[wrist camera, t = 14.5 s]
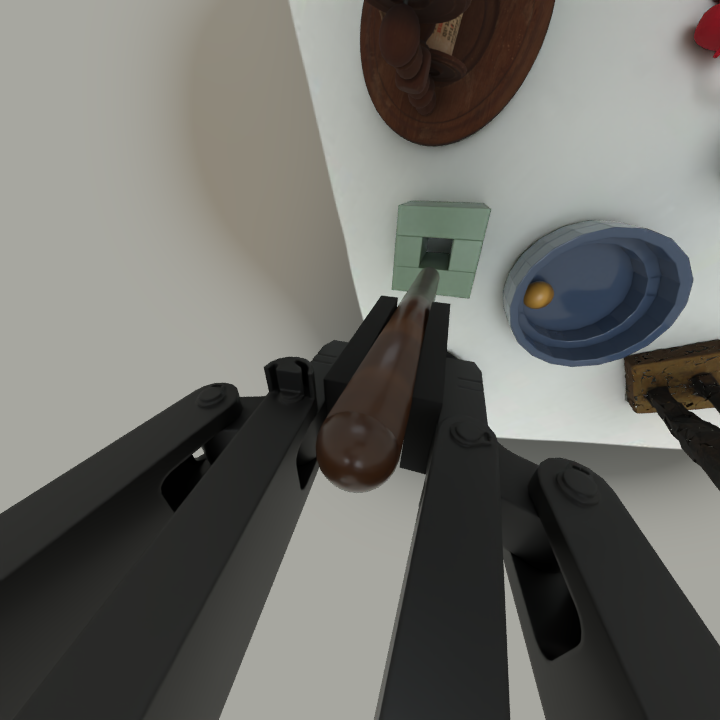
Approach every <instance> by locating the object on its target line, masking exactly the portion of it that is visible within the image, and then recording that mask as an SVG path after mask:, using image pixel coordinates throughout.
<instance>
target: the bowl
mask: <svg viewBox="0 0 720 720" xmlns="http://www.w3.org/2000/svg"><path fill="white" fill-rule="evenodd" d="M537 281H543V282H546V283H548V284H550V285H551V286H552V288H553V290H554V297H553V299H552V301H551V302H550V303H549V304H548V305H547V306H545V307H543V308H540V309H532V308H529V307H527V306H526V305H525V304H524V296H525V293H526V290H527V288H528V285H529V284H531V283H533V282H537ZM692 283H693V276H692V271H691V266H690V261H689V258H688V256H687V255H686V254H685V253H684V252H683V250H682V249H681V248H680V247H679V246H678V245H677V244H676V243H675V241H674V240H673V239H671V238H669V237H667V236H664V235H662V234H659V233H657V232H654V231H652V230H649V229H647V228H643V227H638V226H634V225H630V224H626V223H621V222H617V221H601V220H588V221H584V222H580V223H576V224H572V225H567V226H564V227H562V228H560V229H558V230H556V231H554V232H552V233H550V234H548V235H546V236H544V237H542V238H540V239H539V240H538V241H537V242H536V243H534V244H533V245H532V246H531V247H530V248H529V249H528V250H526V251H525V252H524V253H523V254H522V255H521V256H520V258H519V259H518V261H517V262H516V263H515V265H514V266H513V268H512V269H511V271H510V272H509V274H508V277H507V281H506V284H505V287H504V290H503V301H504V310H505V313H506V316H507V318H508V321H509V324H510V327H511V329H512V331H513V333H514V335H515V338H516V340H517V342H518V343H519V344H520V345H521V346H522V347H523V348H524V349H525V350H526V351H528V352H529V353H530V354H531V355H532V356H535V357H537V358H539V359H541V360H543V361H546V362H548V363H550V364H557V365H563V366H570V367H576V366H591V365H600V364H603V363H607V362H611V361H614V360H618V359H621V358H624V357H626V356H628V355H630V354H632V353H634V352H636V351H638V350H640V349H642V348H644V347H646V346H648V345H649V344H650V343H652V342H653V341H654V340H655V339H656V338H658V337H659V336H660V335H661V334H662V333H664V332H665V331H666V330H667V329H669V328H670V326H672V324H673V323H674V322H675V320H676V319H677V317H678V316H679V315H680V313H681V312H682V310H683V309H684V308H685V306H686V304H687V302H688V298H689V294H690V291H691V287H692Z"/></svg>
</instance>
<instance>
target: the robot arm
mask: <svg viewBox="0 0 720 720" xmlns="http://www.w3.org/2000/svg"><path fill="white" fill-rule="evenodd" d="M397 301H398V298H397V297H388V296H381V297H380V298H379V300H378V301H377V303H376V304H375V305H374V307H373V308H372V310H371V311H370V313H369V314H368V315H367V317H366V318H365V320H364V321H363V323H362V324H361V326H360V327H359V328H358V330H357V331H356V333H355V334H354V336H353V337H352V339H351V340H350V341H349V342H342V341H337V340H334V341H332V342H330V343H328V344H326V345H325V346H323V347H322V349H321V350H320V351H319V352H318V354H317V355H316V356H315V357H314V358H313V360H312V361H311V362H309V361H308V360H306V359H304V358H300V357H285V358H279V359H277V360H275V361H272V362H270V363H269V364H268V365H266V366H265V367H264V370H265V375H266V380H267V384H268V389H269V393H268V394H267V395H266V396H261V397H239V393H238V390H237V388H236V387H235V386H234V385H232V384H228V383H214V384H210V385H207V386H203V387H201V388H200V389H198V390H195V391H194V392H192V393H191V394H189V395H188V396H186V397H184V398H183V399H181V400H180V401H178V402H176V403H175V404H173V405H172V406H170V407H168V408H167V409H165V410H164V411H162V412H161V413H159V414H157V415H156V416H154V417H153V418H151V419H150V420H148V421H146V422H145V423H143V424H142V425H140V426H138V427H137V428H135V429H134V430H132V431H131V432H129V433H127V434H126V435H124V436H123V437H121V438H119V439H118V440H116V441H115V442H113V443H112V444H110V445H108V446H107V447H105V448H104V449H102V450H101V451H99V452H97V453H96V454H94V455H93V456H91V457H90V458H88V459H86V460H85V461H83V462H82V463H80V464H78V465H77V466H75V467H74V468H72V469H70V470H69V471H67V472H66V473H64V474H63V475H61V476H59V477H58V478H56V479H55V480H53V481H52V482H50V483H48V484H47V485H45V486H44V487H42V488H40V489H39V490H37V491H36V492H34V493H33V494H31V495H29V496H28V497H26V498H25V499H23V500H22V501H20V502H18V503H17V504H15V505H14V506H12V507H10V508H9V509H8V510H6V511H4V512H3V513H1V514H0V720H219V718H220V715H221V713H222V710H223V708H224V705H225V702H226V700H227V697H228V695H229V692H230V690H231V687H232V685H233V682H234V680H235V677H236V675H237V672H238V670H239V667H240V665H241V662H242V660H243V657H244V655H245V652H246V650H247V647H248V645H249V642H250V640H251V637H252V634H253V632H254V630H255V627H256V625H257V622H258V620H259V617H260V615H261V612H262V610H263V607H264V604H265V602H266V600H267V597H268V595H269V592H270V589H271V587H272V585H273V582H274V579H275V577H276V574H277V572H278V569H279V567H280V564H281V562H282V559H283V557H284V554H285V552H286V549H287V547H288V544H289V542H290V539H291V537H292V534H293V532H294V529H295V527H296V524H297V522H298V519H299V516H300V514H301V512H302V509H303V506H304V504H305V502H306V499H307V497H308V494H309V491H310V489H311V486H312V484H313V482H314V479H315V476H316V474H317V471H318V469H319V464H318V461H317V458H316V447H315V446H316V440H317V435H318V432H319V430H320V428H321V426H322V424H323V422H324V420H325V419H326V417H327V416H328V414H329V413H330V411H331V410H332V408H333V406H334V405H335V403H336V402H337V400H338V399H339V397H340V396H341V394H342V392H343V391H344V389H345V388H346V386H347V385H348V383H349V382H350V380H351V378H352V377H353V375H354V374H355V372H356V371H357V369H358V368H359V366H360V364H361V363H362V361H363V360H364V358H365V357H366V355H367V354H368V352H369V350H370V349H371V347H372V346H373V344H374V343H375V341H376V339H377V338H378V336H379V335H380V333H381V332H382V330H383V329H384V327H385V325H386V324H387V322H388V321H389V319H390V318H391V316H392V315H393V313H394V311H395V310H396V308H397ZM449 314H450V304H447V303H439V302H432V305H431V309H430V313H429V318H428V322H427V326H426V331H425V335H424V339H423V344H422V348H421V352H420V357H419V361H418V368H417V374H416V380H415V385H414V391H413V396H412V404H411V409H410V413H409V418H408V422H407V427H406V431H405V436H404V442H403V449H402V455H401V462H400V468H404V469H408V470H411V471H415V472H419V473H422V474H426V478H425V482H424V486H423V490H422V494H421V498H420V502H419V509H418V514H417V519H416V523H415V528H414V533H413V537H412V542H411V547H410V551H409V556H408V561H407V566H406V570H405V575H404V580H403V585H402V589H401V594H400V599H399V604H398V608H397V614H396V618H395V623H394V627H393V632H392V637H391V642H390V646H389V651H388V656H387V661H386V665H385V670H384V675H383V680H382V684H381V689H380V694H379V699H378V703H377V708H376V712H375V717H374V720H510V704H509V682H508V681H509V680H508V659H507V658H508V657H507V635H506V614H505V612H506V611H505V590H504V567H503V560H504V563H505V567H506V571H507V575H508V579H509V582H510V586H511V590H512V593H513V597H514V601H515V605H516V609H517V613H518V616H519V620H520V624H521V628H522V631H523V635H524V639H525V643H526V646H527V650H528V654H529V658H530V662H531V666H532V669H533V673H534V677H535V681H536V684H537V688H538V692H539V696H540V700H541V703H542V707H543V711H544V715H545V718H546V720H720V646H719V644H718V643H717V641H716V640H715V639H714V637H713V636H712V634H711V632H710V631H709V630H708V628H707V627H706V625H705V624H704V622H703V621H702V619H701V618H700V616H699V615H698V613H697V612H696V610H695V609H694V608H693V606H692V605H691V603H690V602H689V600H688V599H687V597H686V596H685V594H684V593H683V591H682V590H681V589H680V587H679V586H678V584H677V583H676V581H675V580H674V578H673V577H672V575H671V574H670V573H669V571H668V569H667V568H666V567H665V565H664V564H663V562H662V561H661V559H660V558H659V556H658V555H657V553H656V552H655V550H654V549H653V547H652V546H651V545H650V543H649V542H648V540H647V539H646V537H645V536H644V534H643V533H642V532H641V530H640V529H639V527H638V526H637V524H636V523H635V521H634V520H633V518H632V517H631V515H630V514H629V512H628V511H627V509H626V508H625V506H624V505H623V504H622V502H621V501H620V499H619V498H618V496H617V495H616V493H615V492H614V491H613V489H612V488H611V487H610V486H609V485H608V484H607V483H606V482H605V481H604V479H603V478H601V477H600V476H599V475H597V474H596V473H594V472H593V471H592V470H590V469H589V468H587V467H585V466H583V465H581V464H579V463H577V462H574V461H571V460H567V459H563V458H548V459H546V460H545V461H543V462H541V463H540V465H537V464H535V463H533V462H530V461H528V460H526V459H524V458H522V457H520V456H518V455H516V454H514V453H512V452H510V451H509V450H507V449H506V448H504V447H503V446H502V445H501V444H499V443H498V441H497V438H496V435H495V434H494V432H493V431H492V430H491V429H490V428H489V426H488V422H487V414H486V406H485V397H484V392H483V391H484V389H483V384H482V382H483V380H482V372H481V370H480V369H479V368H478V367H477V365H476V364H475V363H474V362H470V361H464V360H458V359H452V358H446V354H447V341H448V327H449ZM200 447H202V449H203V450H204V454H203V455H201V456H199V457H198V458H194V457H193V455H192V454H193V453H194V452H195V451H197V450H198V449H199V448H200Z"/></svg>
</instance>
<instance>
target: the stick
mask: <svg viewBox="0 0 720 720" xmlns="http://www.w3.org/2000/svg"><path fill="white" fill-rule="evenodd" d="M439 278H440V277H439V273H438V271H437V270H436V269H435V268H433V267H426V268H424V269H422V270H421V271H420V273H419V274H418V276H417V277H416V279H415V280H414V282H413V283H412V285H411V287H410V288H409V290H408V291H407V293H406V294H405V296H404V297H403V299H402V301H401V302H400V304H399V305H398V307H397V308H396V310H395V311H394V313H393V315H392V316H391V318H390V319H389V321H388V322H387V324H386V325H385V327H384V329H383V330H382V332H381V333H380V335H379V336H378V338H377V339H376V341H375V343H374V344H373V346H372V347H371V349H370V350H369V352H368V354H367V355H366V357H365V358H364V360H363V361H362V363H361V364H360V366H359V368H358V369H357V371H356V372H355V374H354V375H353V377H352V378H351V380H350V382H349V383H348V385H347V386H346V388H345V389H344V391H343V392H342V394H341V396H340V397H339V399H338V400H337V402H336V403H335V405H334V406H333V408H332V410H331V411H330V413H329V414H328V416H327V417H326V419H325V420H324V422H323V424H322V426H321V428H320V430H319V432H318V435H317V440H316V446H315V447H316V458H317V461H318V464H319V467H320V469H321V471H322V473H323V474H324V475H325V477H326V478H327V479H328V480H329V481H330V482H331V483H332V484H333V485H335V486H336V487H338V488H340V489H342V490H344V491H348V492H354V493H363V492H368V491H371V490H373V489H376V488H378V487H380V486H381V485H382V484H383V483H385V482H386V481H387V480H388V479H389V478H390V477H391V475H392V474H393V472H394V471H395V469H396V466H397V464H398V461H399V458H400V454H401V449H402V445H403V440H404V436H405V431H406V427H407V422H408V418H409V413H410V409H411V404H412V396H413V391H414V385H415V380H416V374H417V368H418V361H419V357H420V352H421V348H422V344H423V339H424V335H425V331H426V326H427V322H428V318H429V313H430V309H431V305H432V302H434V301H435V297H436V292H437V288H438V283H439Z"/></svg>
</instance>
